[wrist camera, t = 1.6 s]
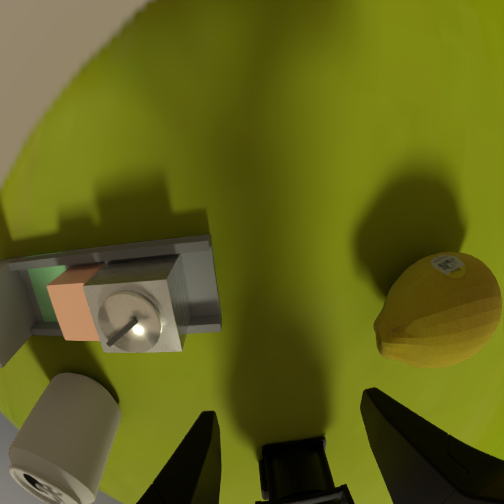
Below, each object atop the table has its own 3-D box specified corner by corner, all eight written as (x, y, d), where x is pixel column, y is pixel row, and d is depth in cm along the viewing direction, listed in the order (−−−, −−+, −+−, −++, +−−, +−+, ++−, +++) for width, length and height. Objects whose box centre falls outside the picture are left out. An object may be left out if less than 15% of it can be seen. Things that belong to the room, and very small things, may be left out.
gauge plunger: (180, 252, 19) (163, 285, 14) (191, 313, 20) (180, 359, 15) (110, 260, 19) (76, 292, 14) (124, 317, 20) (99, 360, 15)
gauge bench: (210, 234, 19) (199, 269, 13) (221, 320, 21) (218, 378, 15) (3, 259, 19) (-44, 288, 13) (25, 325, 21) (-13, 364, 15)
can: (48, 357, 22) (-15, 448, 10) (120, 379, 22) (76, 493, 11) (62, 410, 24) (20, 494, 12) (126, 430, 25) (99, 527, 13)
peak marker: (105, 263, 19) (83, 282, 16) (118, 314, 20) (101, 340, 17) (70, 266, 19) (46, 285, 16) (84, 315, 20) (65, 340, 17)
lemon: (469, 236, 20) (536, 269, 13) (452, 319, 23) (504, 367, 15) (358, 241, 20) (419, 288, 12) (348, 338, 22) (388, 408, 15)
